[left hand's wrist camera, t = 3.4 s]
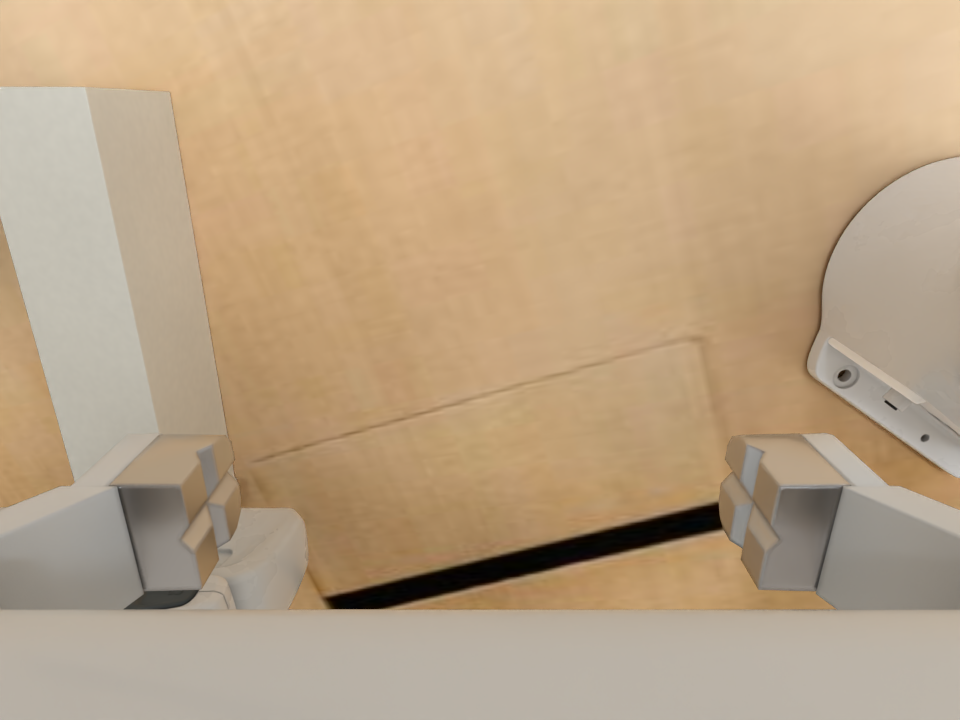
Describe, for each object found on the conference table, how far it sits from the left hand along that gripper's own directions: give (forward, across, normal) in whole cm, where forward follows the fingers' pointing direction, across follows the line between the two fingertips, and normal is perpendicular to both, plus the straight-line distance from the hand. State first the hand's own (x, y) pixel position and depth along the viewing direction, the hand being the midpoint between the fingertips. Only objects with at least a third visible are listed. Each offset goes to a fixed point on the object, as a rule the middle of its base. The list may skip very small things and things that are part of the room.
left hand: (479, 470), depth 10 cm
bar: (+29, -20, -8) cm, 36 cm away
